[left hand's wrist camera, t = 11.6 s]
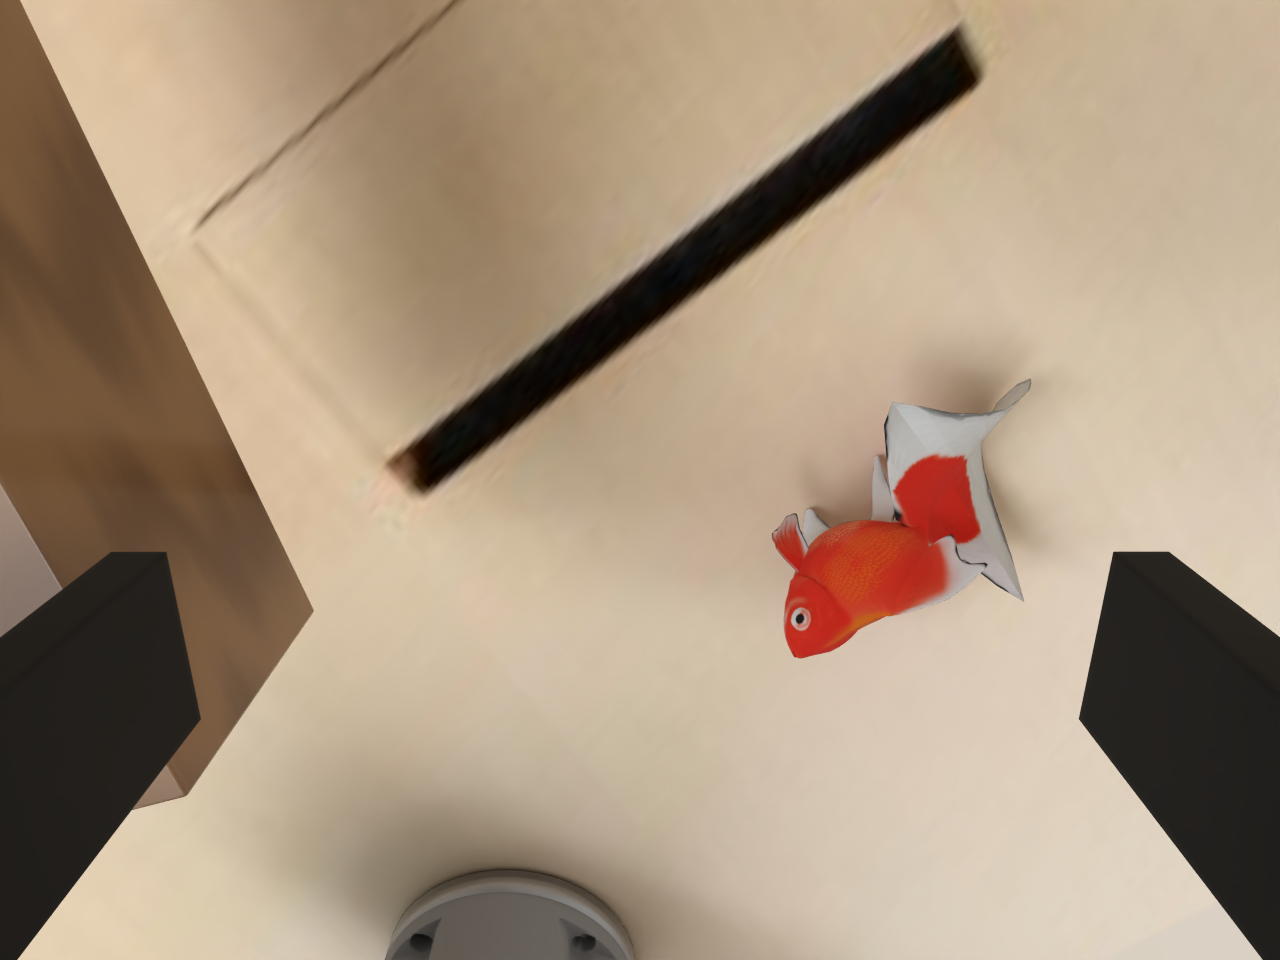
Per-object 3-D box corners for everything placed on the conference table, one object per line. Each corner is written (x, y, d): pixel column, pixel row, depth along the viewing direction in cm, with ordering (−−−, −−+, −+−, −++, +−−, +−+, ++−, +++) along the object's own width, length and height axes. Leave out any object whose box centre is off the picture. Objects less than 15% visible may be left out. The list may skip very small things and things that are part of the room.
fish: (670, 489, 39) (826, 598, 31) (917, 291, 43) (1111, 345, 35) (745, 635, 46) (889, 755, 38) (953, 453, 49) (1124, 528, 41)
